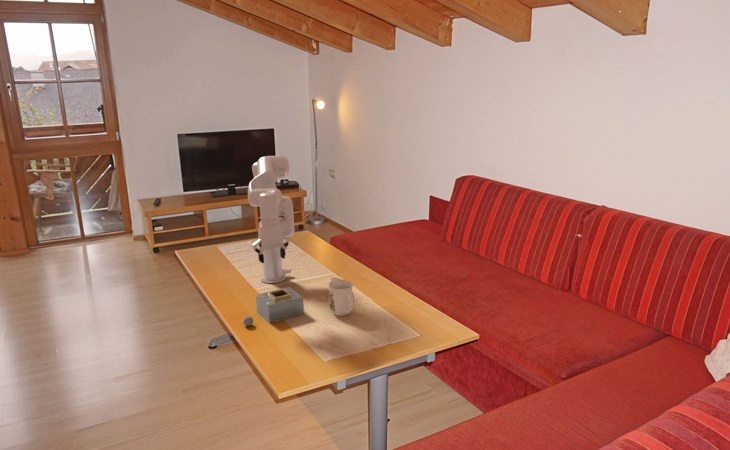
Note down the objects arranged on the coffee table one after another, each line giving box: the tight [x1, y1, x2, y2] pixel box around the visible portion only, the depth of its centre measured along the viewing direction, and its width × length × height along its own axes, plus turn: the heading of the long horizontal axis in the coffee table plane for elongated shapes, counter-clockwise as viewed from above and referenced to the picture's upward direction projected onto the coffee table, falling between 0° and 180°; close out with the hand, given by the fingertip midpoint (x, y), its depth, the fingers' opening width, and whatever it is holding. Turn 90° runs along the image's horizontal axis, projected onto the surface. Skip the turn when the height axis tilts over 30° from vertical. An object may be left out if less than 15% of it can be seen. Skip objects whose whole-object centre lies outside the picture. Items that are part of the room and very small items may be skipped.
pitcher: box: [327, 277, 355, 317], centre depth 233 cm, size 11×18×14 cm, turn 27°
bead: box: [242, 315, 254, 327], centre depth 224 cm, size 4×4×4 cm
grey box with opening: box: [255, 286, 305, 324], centre depth 235 cm, size 16×14×9 cm
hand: (272, 260), depth 232 cm, fingers open, 9 cm apart
